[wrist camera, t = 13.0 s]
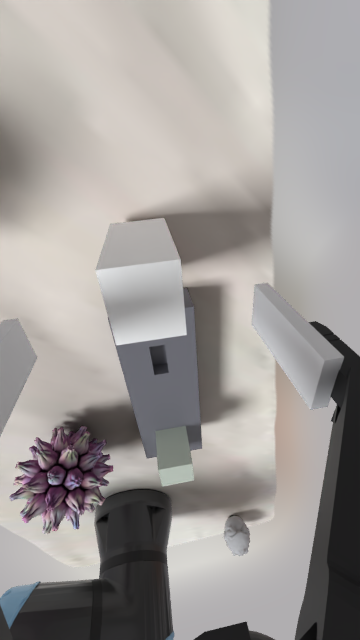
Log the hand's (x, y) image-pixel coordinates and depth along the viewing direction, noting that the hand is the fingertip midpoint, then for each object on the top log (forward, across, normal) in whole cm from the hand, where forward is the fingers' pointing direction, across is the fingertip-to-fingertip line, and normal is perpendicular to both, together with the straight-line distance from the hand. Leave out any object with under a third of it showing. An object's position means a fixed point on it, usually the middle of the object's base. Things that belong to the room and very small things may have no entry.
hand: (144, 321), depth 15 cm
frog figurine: (+14, -11, +67) cm, 70 cm away
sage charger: (+9, 0, +24) cm, 26 cm away
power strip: (+13, 0, +21) cm, 25 cm away
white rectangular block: (+12, 0, -1) cm, 12 cm away
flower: (+13, +14, +25) cm, 32 cm away
